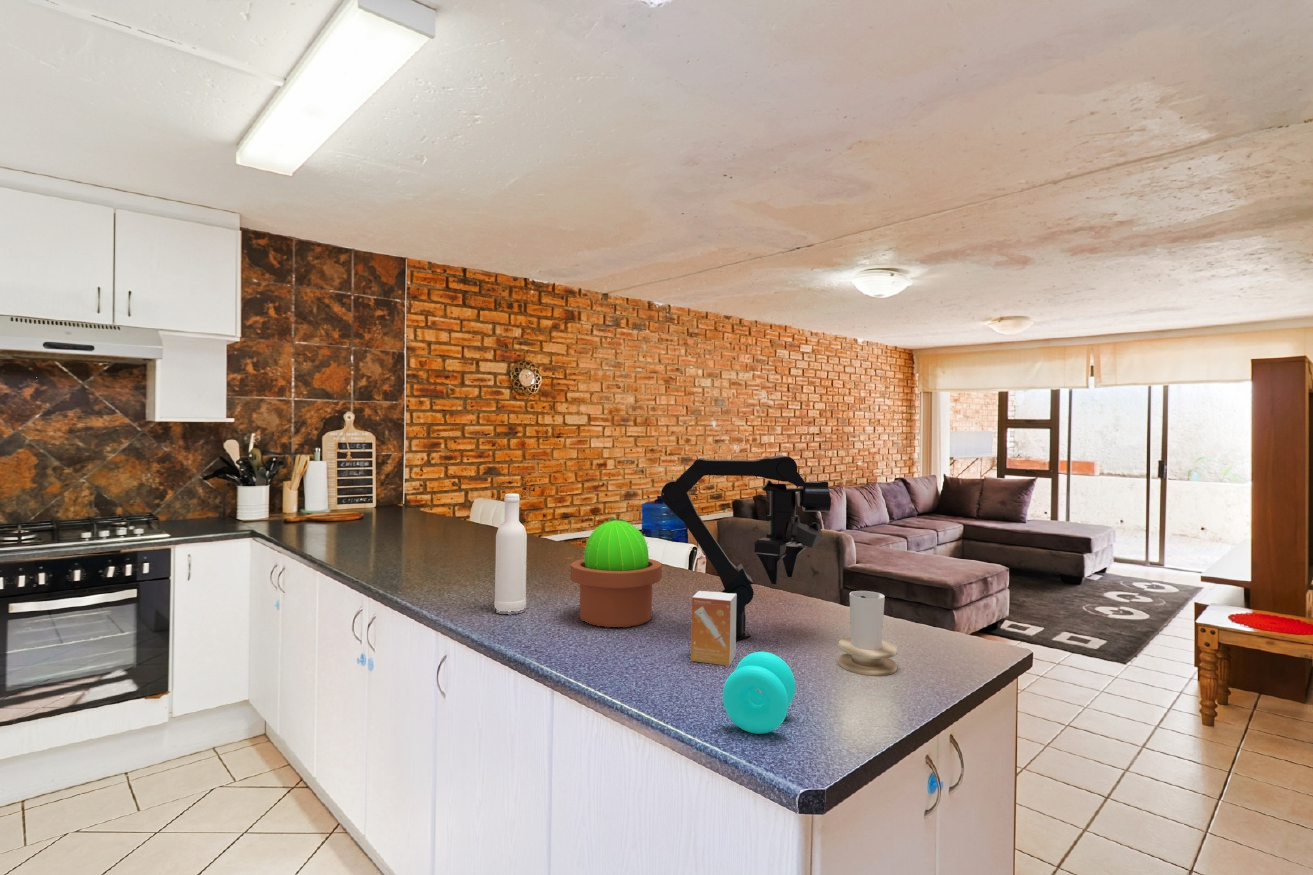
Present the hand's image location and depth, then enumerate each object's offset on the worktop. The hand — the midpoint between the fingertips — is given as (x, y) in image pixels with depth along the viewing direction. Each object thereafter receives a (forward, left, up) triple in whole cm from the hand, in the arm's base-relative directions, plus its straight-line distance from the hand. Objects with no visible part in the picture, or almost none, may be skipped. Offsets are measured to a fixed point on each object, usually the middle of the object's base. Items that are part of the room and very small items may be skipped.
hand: (782, 580), depth 144 cm
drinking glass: (-1, -22, -9) cm, 24 cm away
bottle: (-36, +58, -13) cm, 70 cm away
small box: (-22, 0, -13) cm, 26 cm away
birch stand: (-1, -22, -13) cm, 26 cm away
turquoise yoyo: (-38, -25, -13) cm, 47 cm away
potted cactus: (-19, +36, -13) cm, 43 cm away
